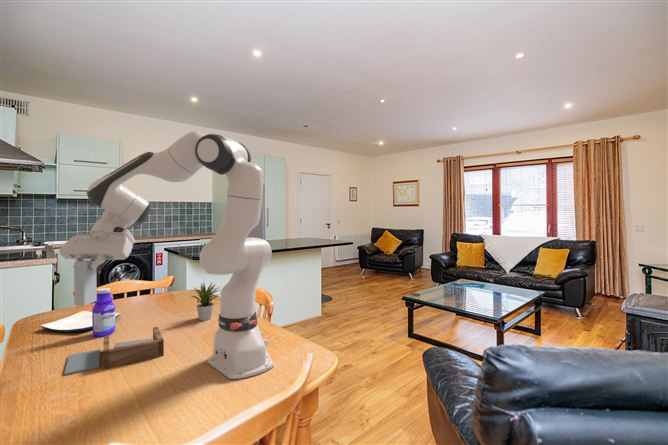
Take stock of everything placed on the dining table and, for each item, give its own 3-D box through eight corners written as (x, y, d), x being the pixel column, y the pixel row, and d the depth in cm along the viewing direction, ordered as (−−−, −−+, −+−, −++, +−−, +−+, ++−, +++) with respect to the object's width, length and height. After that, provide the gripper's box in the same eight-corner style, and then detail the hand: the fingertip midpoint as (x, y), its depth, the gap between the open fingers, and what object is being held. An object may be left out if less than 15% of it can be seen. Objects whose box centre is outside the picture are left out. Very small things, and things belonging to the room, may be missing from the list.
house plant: (214, 325, 131) (214, 286, 130) (181, 324, 131) (181, 286, 130) (226, 314, 145) (227, 279, 144) (197, 313, 145) (197, 278, 145)
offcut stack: (155, 356, 103) (155, 342, 103) (111, 363, 98) (111, 348, 97) (156, 351, 107) (156, 337, 107) (113, 357, 101) (113, 343, 101)
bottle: (101, 338, 116) (101, 291, 115) (88, 336, 117) (88, 290, 116) (118, 331, 123) (118, 287, 122) (106, 329, 124) (106, 286, 124)
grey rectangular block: (96, 300, 100) (96, 260, 100) (84, 305, 95) (84, 263, 95) (87, 300, 100) (86, 260, 100) (74, 305, 95) (74, 262, 95)
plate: (125, 318, 139) (125, 312, 139) (83, 336, 118) (83, 329, 118) (83, 315, 141) (83, 310, 141) (35, 333, 121) (35, 326, 120)
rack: (163, 355, 103) (163, 340, 103) (103, 368, 94) (103, 352, 94) (157, 340, 115) (157, 326, 115) (103, 350, 106) (103, 336, 106)
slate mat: (99, 367, 94) (99, 365, 94) (64, 375, 90) (64, 373, 90) (100, 350, 106) (100, 349, 106) (69, 356, 101) (69, 355, 101)
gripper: (69, 228, 103) (42, 262, 94) (132, 229, 104) (111, 263, 94) (80, 240, 108) (56, 273, 99) (140, 241, 108) (121, 274, 99)
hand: (83, 268), depth 97 cm, fingers closed on grey rectangular block, 3 cm apart
